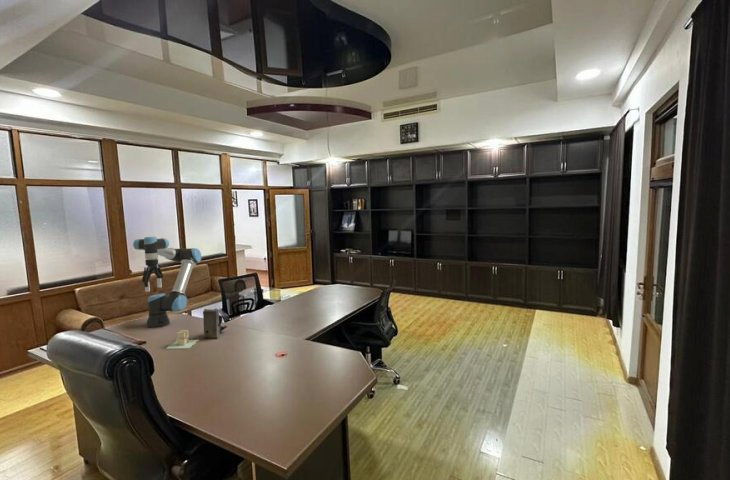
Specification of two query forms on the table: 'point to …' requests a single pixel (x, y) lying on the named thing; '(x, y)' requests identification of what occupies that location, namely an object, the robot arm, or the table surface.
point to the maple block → (182, 337)
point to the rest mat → (187, 346)
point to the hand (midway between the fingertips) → (153, 289)
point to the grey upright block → (212, 323)
